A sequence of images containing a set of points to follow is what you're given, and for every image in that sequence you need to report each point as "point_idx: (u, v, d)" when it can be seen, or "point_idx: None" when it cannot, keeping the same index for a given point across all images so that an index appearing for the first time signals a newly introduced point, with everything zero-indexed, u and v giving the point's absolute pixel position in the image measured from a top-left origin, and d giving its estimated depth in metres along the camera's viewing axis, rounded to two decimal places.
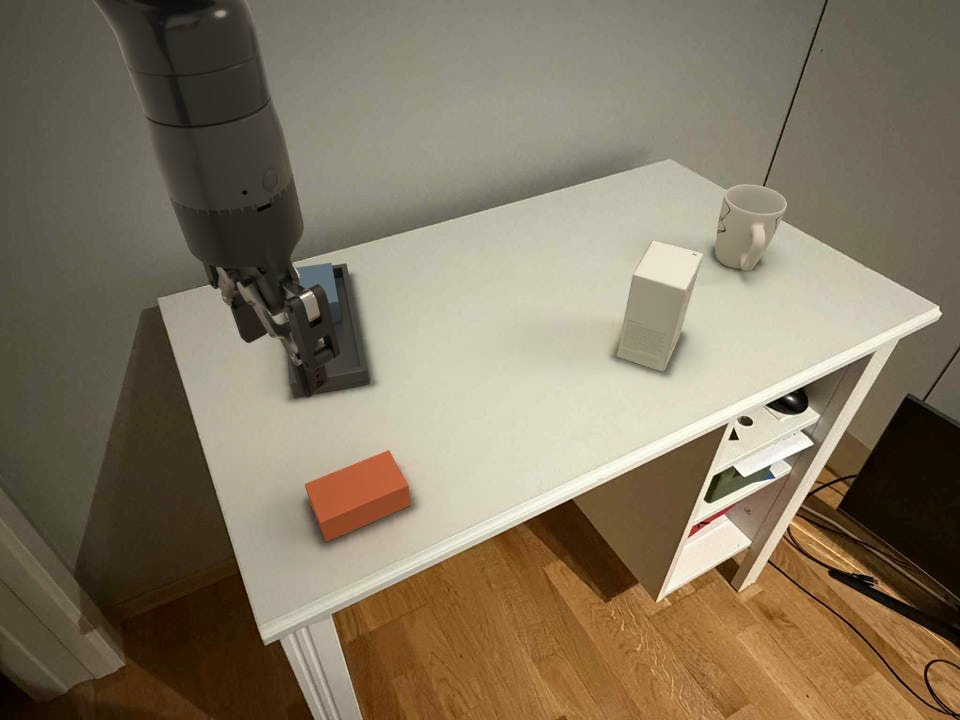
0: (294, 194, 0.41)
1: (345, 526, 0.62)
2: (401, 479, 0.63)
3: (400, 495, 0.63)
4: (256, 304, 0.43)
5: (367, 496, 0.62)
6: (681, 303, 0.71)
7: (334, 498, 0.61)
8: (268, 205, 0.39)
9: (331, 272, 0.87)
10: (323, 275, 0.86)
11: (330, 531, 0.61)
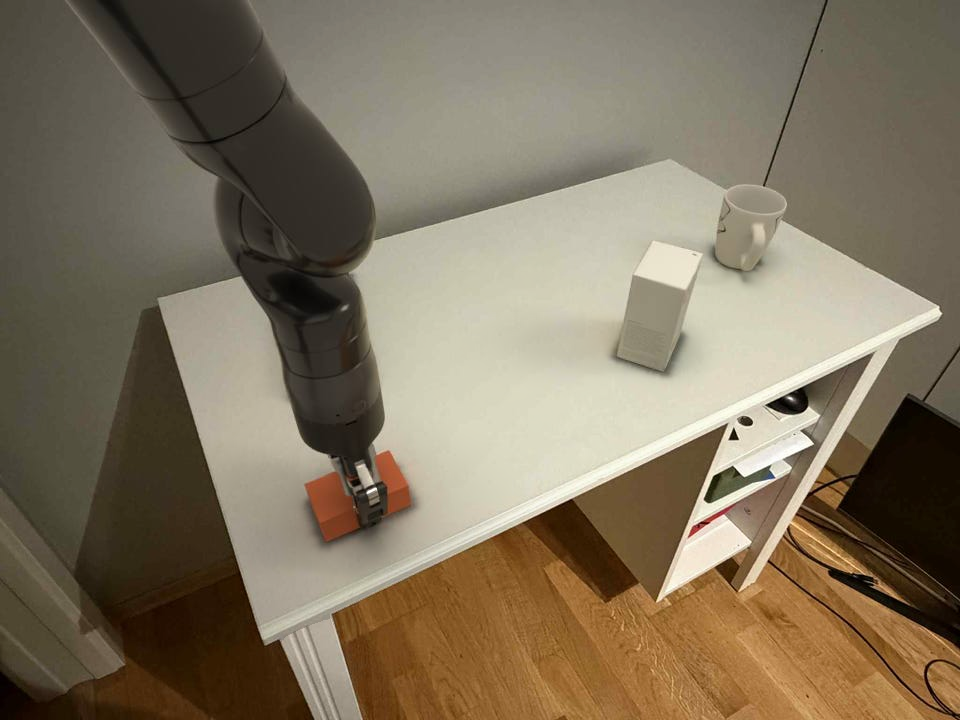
0: (378, 407, 0.53)
1: (345, 526, 0.62)
2: (401, 479, 0.63)
3: (400, 495, 0.63)
4: (338, 472, 0.57)
5: None
6: (681, 303, 0.71)
7: (334, 498, 0.61)
8: (355, 420, 0.52)
9: None
10: None
11: (330, 531, 0.61)
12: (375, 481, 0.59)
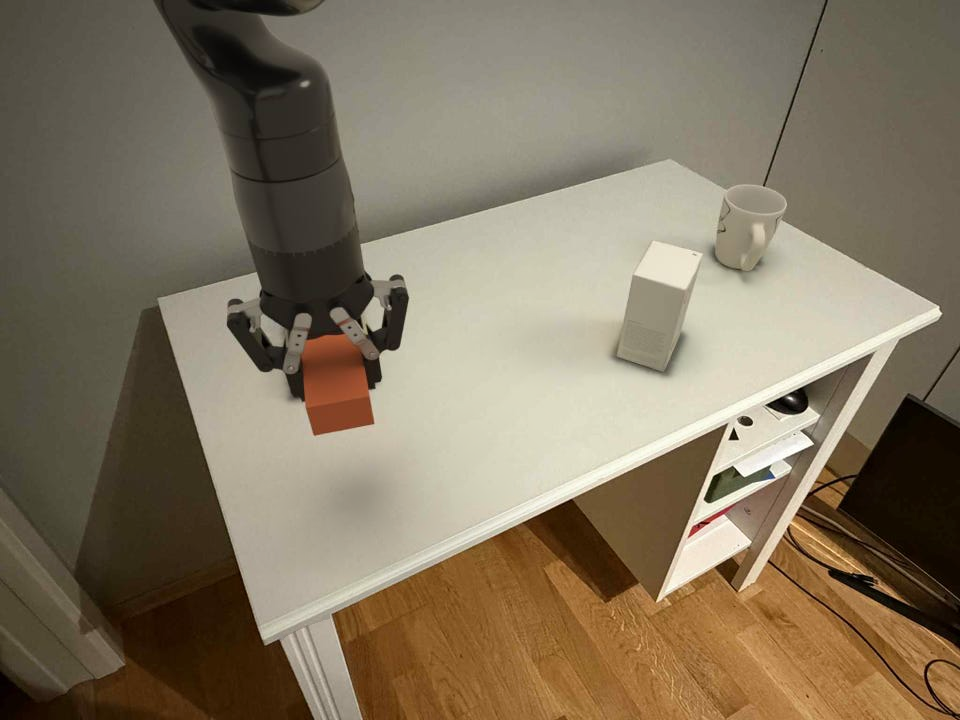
0: None
1: None
2: None
3: None
4: (351, 320, 0.48)
5: (354, 355, 0.54)
6: (681, 303, 0.71)
7: (342, 382, 0.52)
8: None
9: None
10: None
11: None
12: (362, 315, 0.52)
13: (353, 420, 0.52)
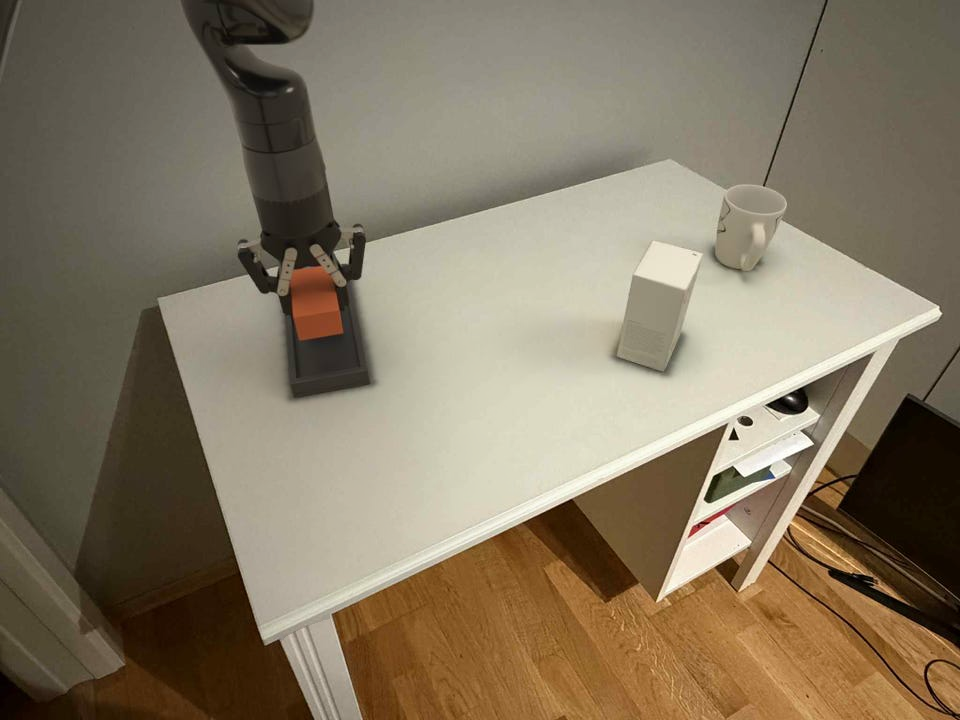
0: None
1: None
2: None
3: None
4: (325, 254, 0.69)
5: (328, 284, 0.74)
6: (681, 303, 0.71)
7: (319, 301, 0.72)
8: None
9: None
10: None
11: None
12: (334, 254, 0.73)
13: (327, 329, 0.72)
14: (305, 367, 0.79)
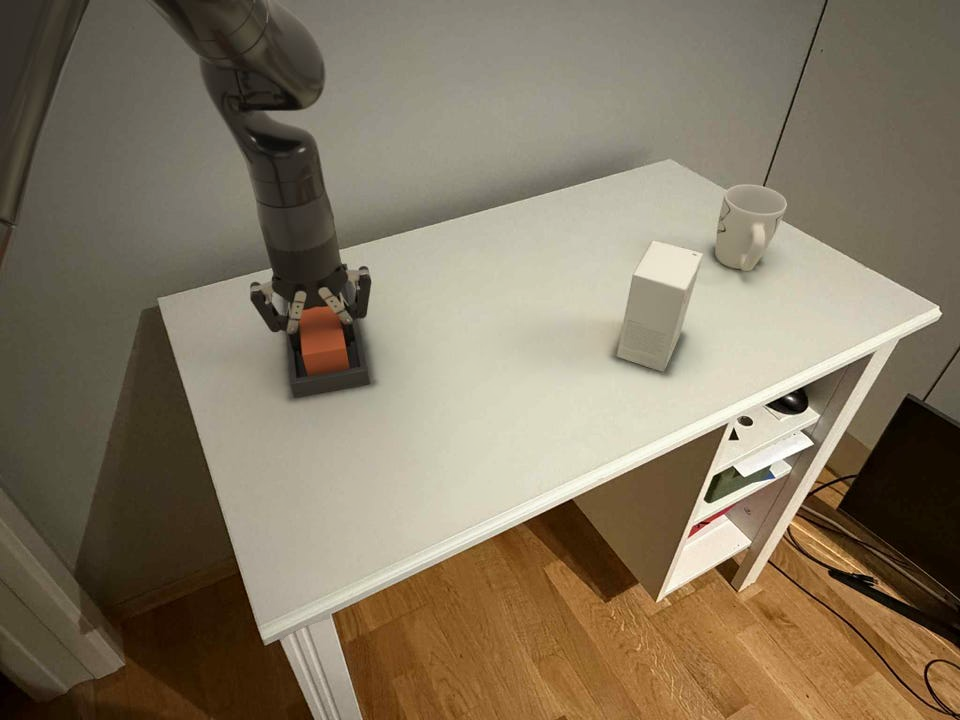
0: None
1: None
2: None
3: None
4: (332, 296, 0.73)
5: (335, 322, 0.78)
6: (681, 303, 0.71)
7: (327, 339, 0.76)
8: None
9: None
10: None
11: None
12: (340, 294, 0.76)
13: (334, 365, 0.76)
14: None
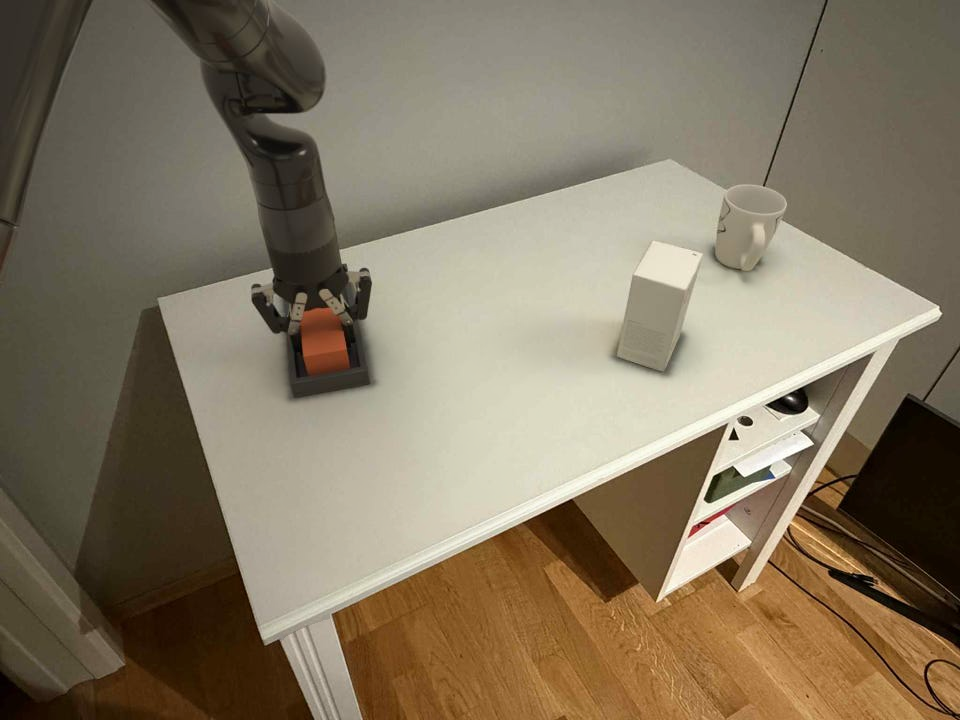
0: None
1: None
2: None
3: None
4: (333, 298, 0.73)
5: (336, 323, 0.78)
6: (681, 303, 0.71)
7: (328, 340, 0.76)
8: None
9: None
10: None
11: None
12: (341, 295, 0.77)
13: (335, 366, 0.77)
14: (305, 367, 0.79)
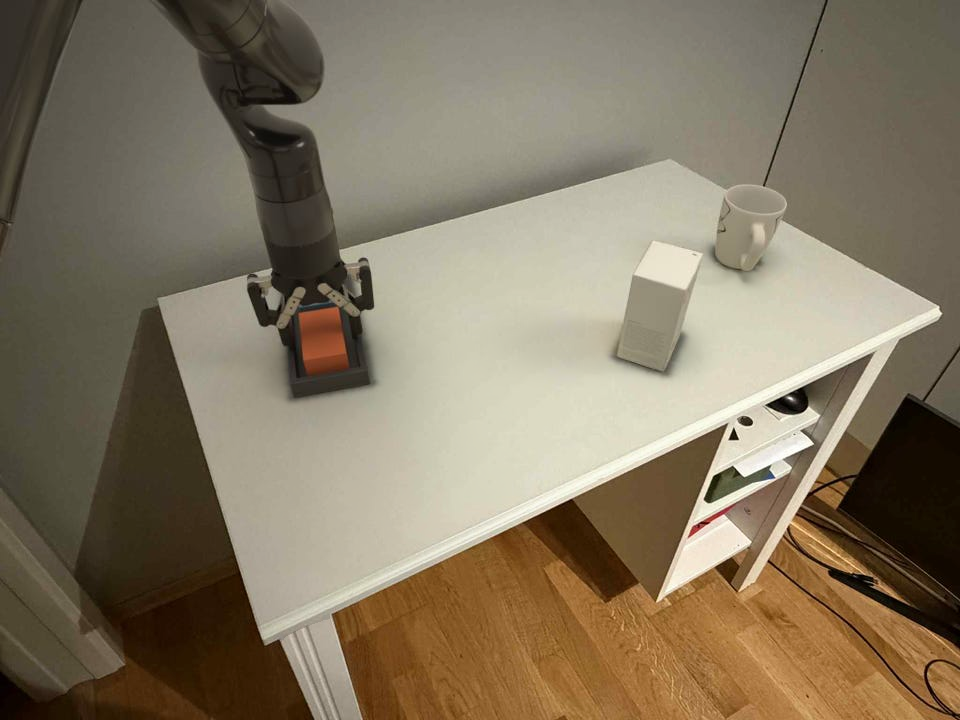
0: None
1: None
2: (330, 309, 0.81)
3: None
4: (333, 290, 0.72)
5: (336, 327, 0.79)
6: (681, 303, 0.71)
7: (328, 344, 0.76)
8: None
9: None
10: None
11: None
12: (344, 287, 0.76)
13: (335, 370, 0.77)
14: None
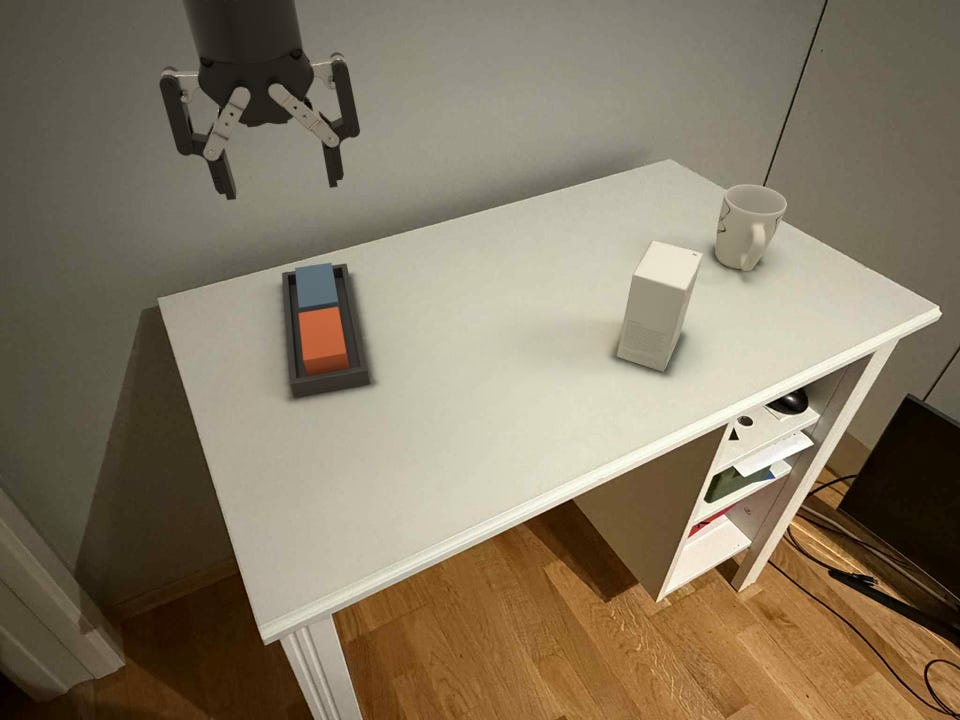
0: None
1: None
2: (330, 309, 0.81)
3: None
4: (293, 98, 0.49)
5: (336, 327, 0.79)
6: (681, 303, 0.71)
7: (328, 344, 0.76)
8: None
9: (331, 272, 0.87)
10: (323, 275, 0.86)
11: None
12: (314, 104, 0.52)
13: (335, 370, 0.77)
14: None
